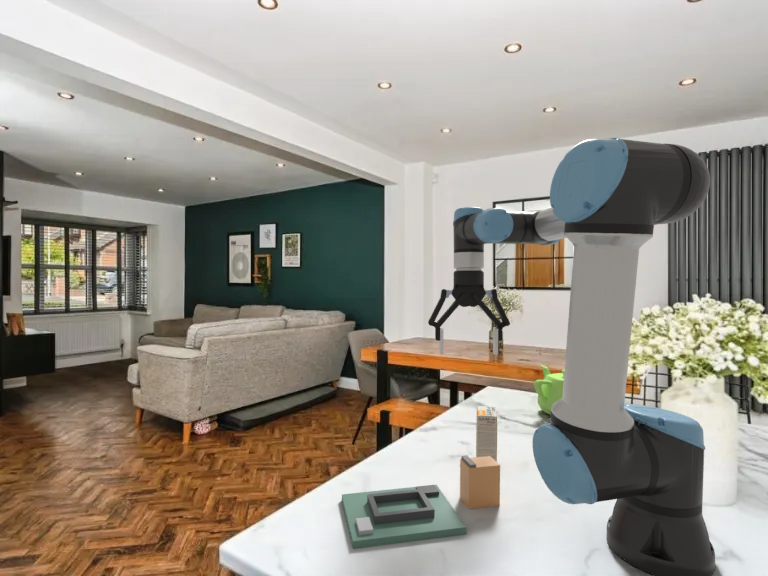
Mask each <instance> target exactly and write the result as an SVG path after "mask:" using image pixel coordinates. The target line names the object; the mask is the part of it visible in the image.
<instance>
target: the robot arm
mask: <svg viewBox="0 0 768 576" xmlns="http://www.w3.org/2000/svg"><path fill="white" fill-rule="evenodd" d="M710 187H711V176H710V171H709V168H708V166H707V164H706V162H705V160H704V159H703V158H702V156H700V154H698V153H697V152H695V151H694V150H693V149H691V148H688V147H686V146H683V145H679V144H675V143H661V142H660V143H659V142H658V143H657V142H649V141H642V140H641V141H640V140H631V139H630V140H629V139H623V138H618V137H612V138H611V137H610V138H590V139H585V140H583V141H581V142H579V143H577V144H576V145H574V146H572V148H571V149H569V151H568V152H566V153H565V155H564V157H563V158H562V160H561V161H560V162H559V164H558V165H557V167H556V170H555V172H554V173H553V177H552V180H551V184H550V189H549V203H550V206H549V207H545V208H543V209H540V210H538V211H511V210H510V211H509V210H508V211H507V210H506V209H503V208H501V207H494V208H491V207H490V208H486V209H483V208H482V207H478V206H465V207H461V208H460V207H459V208H457V209H456V210H455V211H454V213H453V222H452V226H453V268H454V269H455V270H454V271H453V288H452V289H451V290H450V289H445V288H442V289H441V291H440V297H439V300H438V302H437V303H436V305H435V307H434V309H433V311H432V313H431V315H430V317H429V318H428V325H429V326H431V327H434V328H435V329H434V332H435V333H434V338H435V340H436V342H437V341H439V354H440V355H444V327H442V326H443V324H444V323H445V322H446V321H447V319H448V318H449V317H450V316H451V315H452V314H453V313H454V312H455V310H456V309H458V307H462V308H466V307H471V308H475V307H479V308H480V309H481V310H482V311H483V313H484V314H485V315H486V316H487V317H488V318H489V320H490V321H491V322H492V323H493V325H495V327H493V328H492V354H494V355H495V356H499V342H503V329H504V328H505V327H509V326H510V325H511V323H510V320H509V318H508V316H507V314H506V312H505V310H504V308H503V306H502V304H501V302H500V300H499V298H498V292H497V289H495V288H491V289H485V286H484V285H485V284H484V283H485V281H484V280H485V273H484V271H483V270H482V269H484V267H485V263H484V262H485V258H484V257H485V256H484V254H485V252H484V251H485V245H486V244H496V245H497V244H502V245H504V244H507V245H519V244H521V245H540V246H547V245H556V244H557V243H559V242H560V240H563V239H568V240H569V241H570V243H572V246H573V255H572V269H571V282H570V284H571V285H570V295H569V306H568V307H569V308H568V322H567V335H566V347H565V357H564V359H565V361H564V369H565V371H564V384H563V396H562V398H561V399H559V400H558V401H557V402H555V403H554V404H553V405H552V407H551V415H550V419H549V423H543V424H541V425H540V426H538V427H537V428H536V429H535V431H534V433H533V436H532V443H531V444H532V452H533V458H534V461H535V465H536V468H537V471H538V472H539V475H540V476H541V479H542V480H543V482H544V484H545V485H546V487H547V488H548V490H549V491H550V492H551V493H552V494H553V496H555V497H556V498H557V499H558V500H560V501H561V502H564V503H566V504H569V505H582V504H587V505H593V504H595V503H599V502H600V503H601V502H605V501H612V500H616V501H615V503H614V506H613V510H612V514H611V516H610V517H609V518H608V521H607V522H606V542H607V544H608V545H609V547H610V549H611V550H612V552H614V554H616V555H617V556H618V557H620V559H622V560H623V561H625V562H626V563H628V564H630V565H632V566H634V567H635V568H637V569H639V570H642V571H644V572H646V573H649V574H652V575H655V576H712V575H713V574H714V573H715V570H716V551H715V548H714V545H713V543H712V542H711V541H710V535H709V532H708V529H707V525H706V522H705V519H704V517H703V496H704V495H703V494H704V493H703V492H704V468H705V465H704V464H705V451H706V445H705V442H704V441H705V440H704V438H705V437H704V429H703V427H702V425H701V424H700V422H698V421H697V420H696V419H694V418H692V417H690V416H688V415H685V414H682V413H680V412H679V413H678V412H676V411H672V410H668V409H665V408H660V407H655V406H650V405H644V404H635V403H634V404H633V403H627V404H625V401H626V391H627V390H626V389H627V382H628V381H627V380H628V368H629V361H630V360H629V358H630V351H631V350H630V348H631V338H632V327H633V317H634V316H633V315H634V307H635V297H636V286H637V278H638V277H637V275H638V264H639V255H640V254H639V253H640V249H641V247H642V246H643V245H645V244H646V243H647V242H648V241H650V240H651V239H652V238H653V237H654V229H655V228H654V227H655V226H657V225H667V224H668V225H669V224H672V223H676V222H680V221H682V220H684V219H686V218H688V217H689V216H691V215H692V214H694V213H695V212H696V211H697V210H698V209H699V208H700V207H701V206H702V205H703V204H704V202H705V200H706V199H707V196H708V194H709V192H710V191H709V190H710ZM486 295H487V297H488V298H490V300H491V302H492V304H493V306H494V307H495V310H496V311H497V314H498V316H499V318H500V320H501V321H500V320H499V319H498V318H497V316H496V315H495V314H494V313H493V312H492V311H491V309H490V308H489V307H488V306H487V304H486V303H485V302H484V301H483V299H484V297H485V296H486ZM450 296H452V297H453V298H454V301H453V302H452V303H451V305H450V306H449V307H448V308H447V309H446V311H445V312H444V313H443V314H442V315H441V317H440V318H439V319H438V320H437V317H438V316H439V313H440V312H441V310H442V307H443V306H444V303H445V301H446V299H448V298H449V297H450ZM436 320H437V321H436Z"/></svg>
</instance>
